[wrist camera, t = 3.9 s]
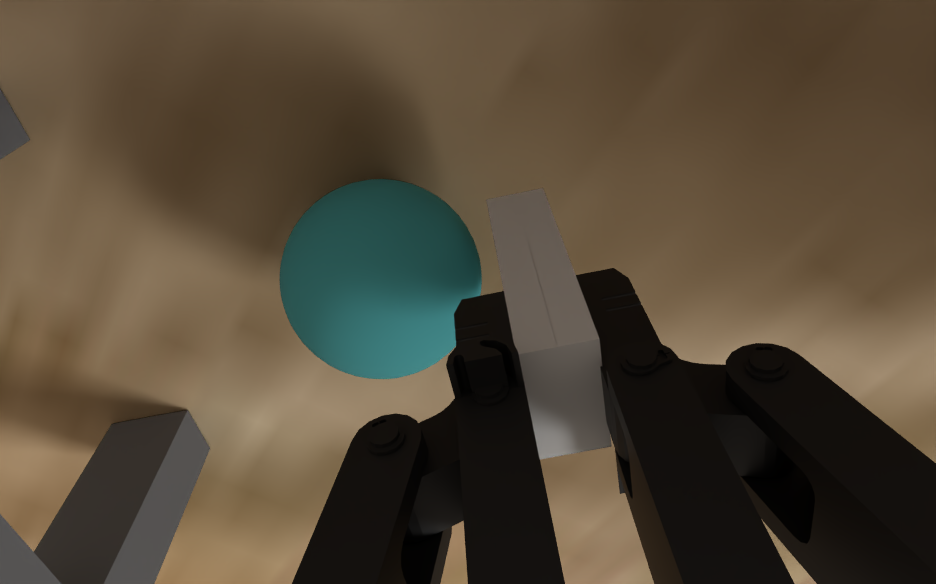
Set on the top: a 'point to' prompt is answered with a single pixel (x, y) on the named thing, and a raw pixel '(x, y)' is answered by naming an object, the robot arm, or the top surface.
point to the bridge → (110, 490)
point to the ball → (378, 278)
